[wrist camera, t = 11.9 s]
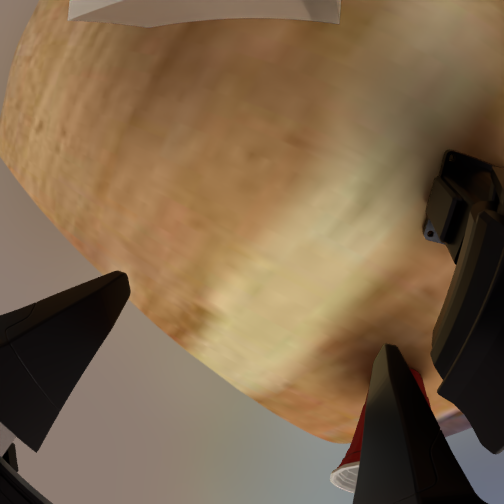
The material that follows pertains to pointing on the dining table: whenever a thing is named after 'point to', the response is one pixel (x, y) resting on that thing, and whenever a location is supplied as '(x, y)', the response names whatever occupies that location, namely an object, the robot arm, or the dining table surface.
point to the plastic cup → (359, 451)
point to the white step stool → (199, 11)
